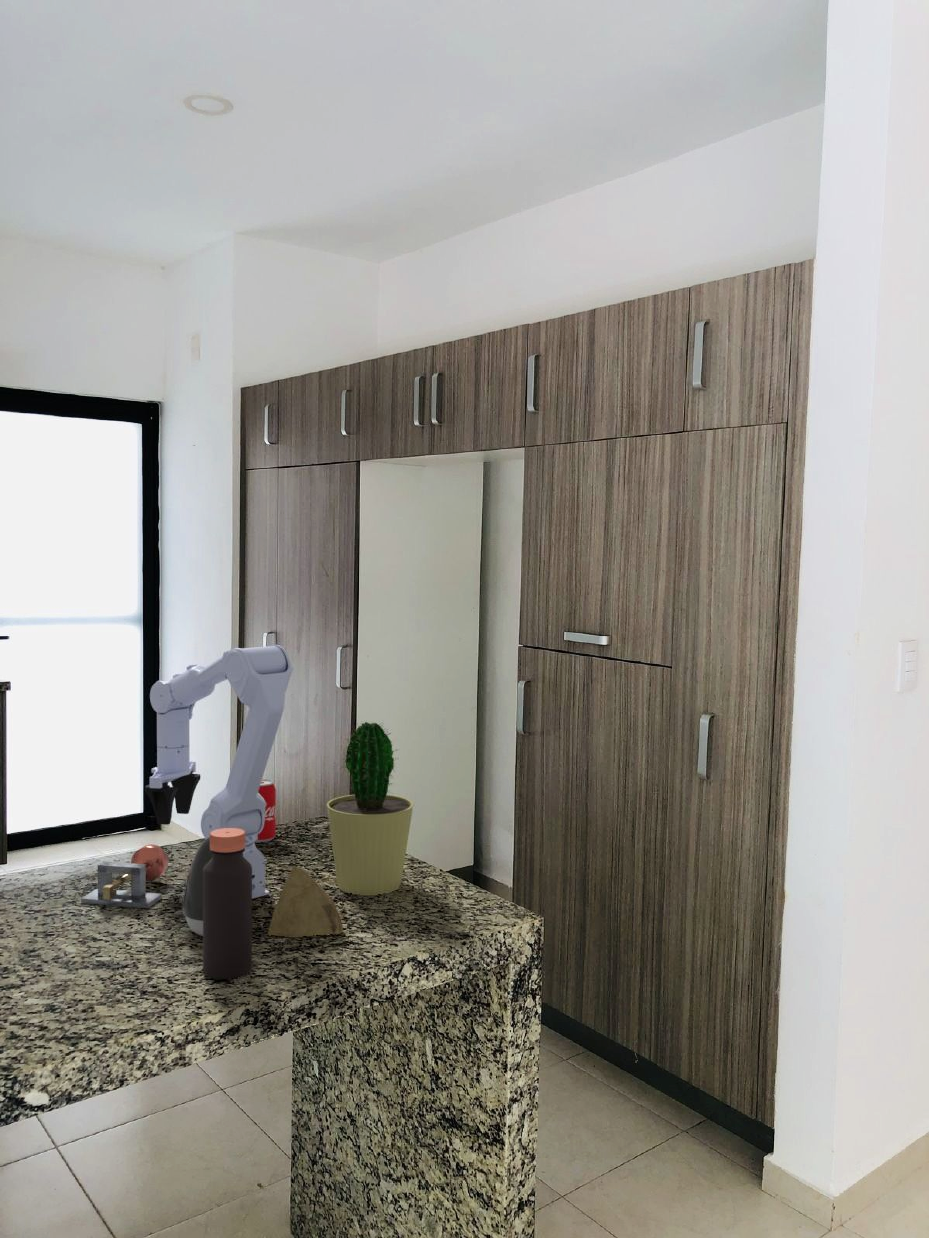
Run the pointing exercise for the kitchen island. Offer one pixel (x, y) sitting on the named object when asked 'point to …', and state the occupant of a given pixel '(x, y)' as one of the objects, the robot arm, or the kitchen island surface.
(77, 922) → the kitchen island surface
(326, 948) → the kitchen island surface
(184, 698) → the robot arm
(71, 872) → the kitchen island surface
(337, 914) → the rock
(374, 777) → the potted cactus
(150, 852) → the copper knob on rod
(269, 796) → the beverage can
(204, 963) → the bottle
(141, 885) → the gray bracket
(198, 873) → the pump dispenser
